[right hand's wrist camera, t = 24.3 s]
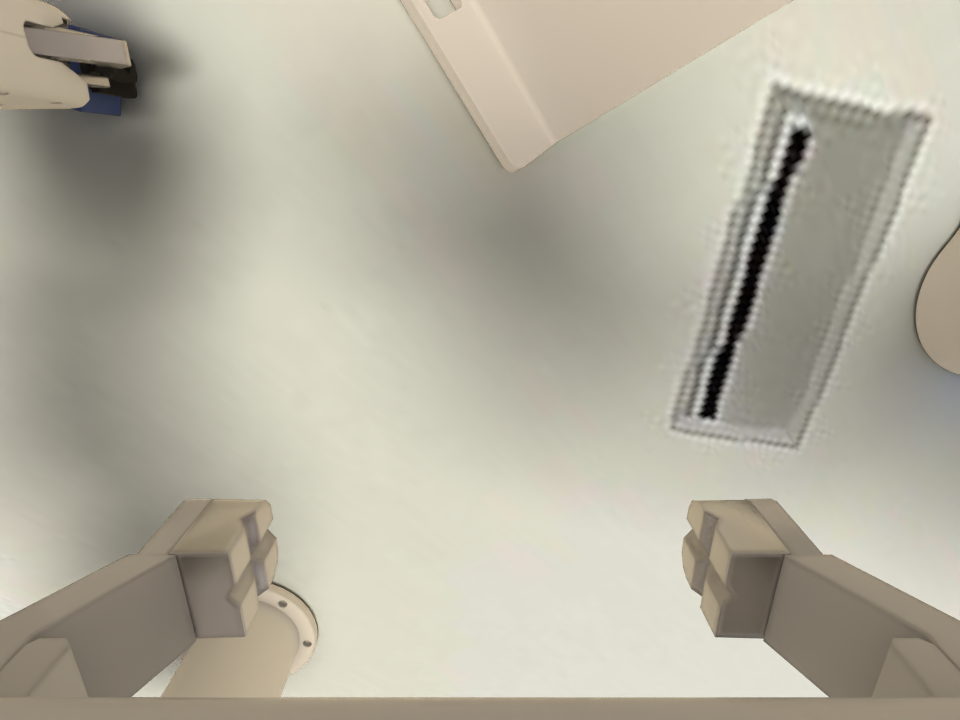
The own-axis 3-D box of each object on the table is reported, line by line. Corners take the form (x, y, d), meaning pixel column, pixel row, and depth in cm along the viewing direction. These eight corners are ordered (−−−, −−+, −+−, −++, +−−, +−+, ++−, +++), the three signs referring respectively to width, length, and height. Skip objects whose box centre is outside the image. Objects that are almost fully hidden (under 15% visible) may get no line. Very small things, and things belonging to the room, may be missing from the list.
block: (59, 101, 38) (13, 95, 34) (56, 24, 36) (7, 8, 32) (121, 116, 38) (81, 111, 34) (121, 40, 36) (79, 27, 33)
